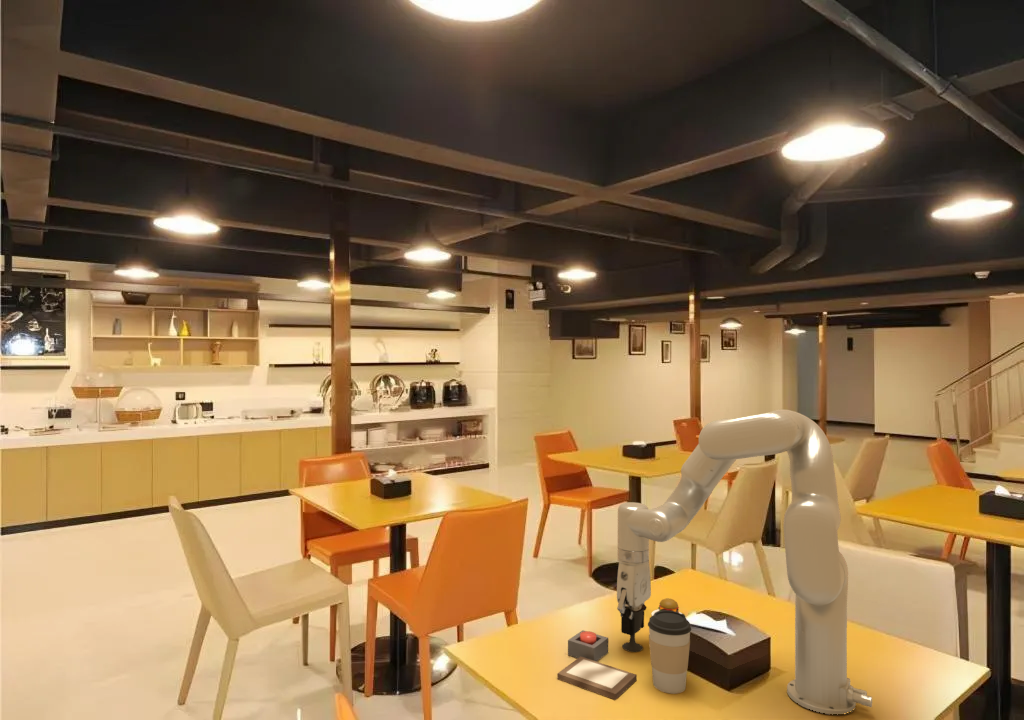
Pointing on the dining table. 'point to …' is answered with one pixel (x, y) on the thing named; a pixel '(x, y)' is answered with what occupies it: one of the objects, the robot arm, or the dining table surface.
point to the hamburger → (667, 606)
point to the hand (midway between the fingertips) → (632, 629)
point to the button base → (588, 647)
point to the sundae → (638, 616)
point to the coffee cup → (669, 650)
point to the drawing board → (597, 677)
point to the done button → (588, 637)
